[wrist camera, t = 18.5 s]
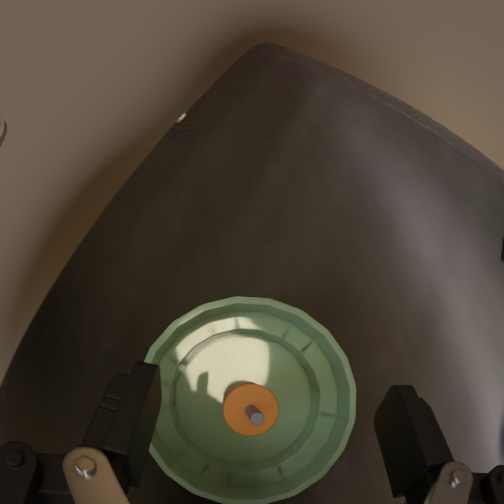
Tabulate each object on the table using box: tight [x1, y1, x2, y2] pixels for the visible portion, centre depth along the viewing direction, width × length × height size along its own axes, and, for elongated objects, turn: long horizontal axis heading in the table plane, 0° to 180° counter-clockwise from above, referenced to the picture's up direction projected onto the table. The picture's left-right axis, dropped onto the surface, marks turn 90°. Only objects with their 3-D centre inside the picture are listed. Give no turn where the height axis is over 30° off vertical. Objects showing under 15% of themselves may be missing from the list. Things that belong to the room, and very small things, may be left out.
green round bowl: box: [144, 296, 356, 504], centre depth 22 cm, size 15×15×6 cm
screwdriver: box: [223, 381, 279, 436], centre depth 19 cm, size 3×3×11 cm
